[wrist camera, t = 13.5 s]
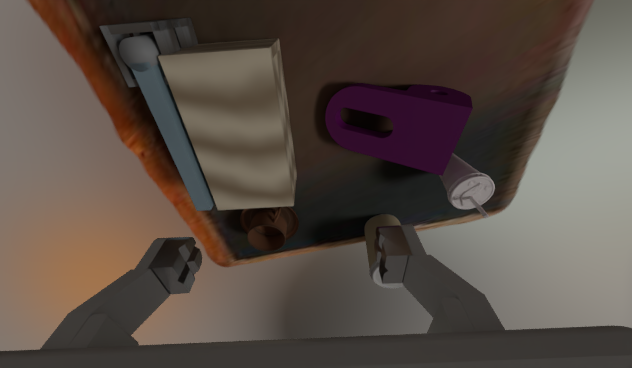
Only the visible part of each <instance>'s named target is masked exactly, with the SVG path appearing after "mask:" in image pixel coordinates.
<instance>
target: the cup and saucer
mask: <svg viewBox="0 0 632 368" xmlns="http://www.w3.org/2000/svg"><path fill="white" fill-rule="evenodd" d="M240 224H241V226H242V228H243V230H244V231H245V232H246V233H247V234H248V235H247V239H248V242H249V243H250V244H251V245H252V246H253V247H254V248H256V249H259V250H262V251H274V250H278V249H280V248H281V247H282V246H283V245H284V244H285V241H286V240H287V239H289V238H291V237H292V236H293V235H294V234H295V233H296V231H297V230H298V226H299V221H298V217H297V215H296V213H295V212H294V210H293V209H292V208H290V207H289V206H285V207H267V208H248V209H244V210H243V211H242V213H241V216H240Z"/></svg>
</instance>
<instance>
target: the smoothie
mask: <svg viewBox="0 0 632 368" xmlns="http://www.w3.org/2000/svg"><path fill="white" fill-rule="evenodd" d="M439 176H440V178H441V180H442V182H443V184H444V186H445V188H446V191H447V193H448V199H449V201H450V202H451V203H452V205H453V206H454V207H456V208H459V209H472V208H475V207H476V208H477V209H478V210H479V212H480V213H481V214H482V215H483V217H484V218H487V217H488V215H487V213H486V212H485V211H484V210H483V209H482V207H481V206H480V205H482V204H483V203H485V202H486V201H487V200H488V199H489V198H490V197H491V196H492V194H493V192H494V189H495V185H494V182H493V181H492V180H491V178H490V177H489V176H488V175H486V174H484V173H480V172H478V171H477V170H476V169H474V168H473V167H471V166H470V165H469V164H467V163H466V162H464V161H463V160H462V159H460V158H459V157H457V156H456V155H455V154H453V153H452V156H451V158H450V160H449V162H448V165H447V167H446V169H445V171H444V174H443V176H441V175H439Z"/></svg>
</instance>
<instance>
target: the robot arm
mask: <svg viewBox="0 0 632 368" xmlns="http://www.w3.org/2000/svg"><path fill="white" fill-rule="evenodd" d="M375 233H376V237H377V238H376V239H375V243H374V249H375V256H376V261H377V262H378V263H379V273H380V277H381V280H382V284H390V283H403V285H404V286H405V287H406V288H407V290H408V291H409V292H410V293H411V294H412V295H413V296H414V297H415V298H416V299H417V301H418V302H419V303H420V304H421V305H422V306H423V307H424V308H425V309H426V310H427V311H428V312H429V314H430V315H431V316H432V317H433V320H432V323H431V325H430V327H429V330H428V332H427V334H405V335H381V336H380V335H379V336H356V337H331V338H309V339H308V338H307V339H282V340H260V341H236V342H211V343H188V344H165V345H164V344H163V345H140V346H139V344H138V342H137V341H136V340H135V339H134V338H133V337H132V336H131V335H132V334H133V332H134V331H135V330H136V329H137V328H138V327H139V326H140V325H141V324H142V323H143V322H144V321H145V320H146V319H147V318H148V317H149V316H150V315H151V314H152V313H153V312H154V311H155V310H156V309H157V308H158V307H159V306H160V305H161V304H162V303H163V302H164V301H165V300H166V299H167V298H168V297H169V296H170V295H169V294H180V293H189V292H190V290H191V287H192V285H193V283H194V281H195V277H194V274H195V273H196V272H197V271H198V270H199V269H200V266H201V263H202V255H201V251H200V249H198V248H197V247H195V244H196V242H195V240H194V238H193V237H179V238H178V237H177V238H157V239H156V240H154V241H153V243H152V244H151V246H150V248H149V249H148V250H147V252H146V253H145V255H144V256H143V258H142V259H141V261H140V262H139V264H138V265H137V266H136V268H135V269H134V270H130V271H129V272H127V273H126V274H124V275H123V276H121V277H120V278H119V279H117V280H116V281H114V282H113V283H111V284H110V285H108V286H107V287H106V288H104V289H103V290H101V291H100V292H99V293H97V294H96V295H94V296H93V297H91V298H90V299H89V300H87V301H86V302H84V303H83V304H81V305H80V306H78V307H77V308H76V309H74V310H73V311H71V312H70V313H69V314H68V315H67V316H66V317H65V318H64V320H63V321H62V322H61V324H60V325H59V326H58V327H57V329H56V330H55V331H54V332H53V334H52V335H51V336H50V338H49V339H48V340H47V341H46V342H45V344H44V345H43V346H42V348H41V349H40V350H21V351H0V368H632V328H629V327H624V326H596V327H595V326H593V327H570V328H547V329H546V328H545V329H523V330H505V329H504V327H503V326H502V324H501V322H500V321H499V319H498V317H497V315H496V314H495V312H494V310H493V309H492V307H491V305H490V303H489V302H488V300H487V298H486V297H485V295H484V294H482V293H481V292H480V291H478V290H477V289H476V288H474V287H473V286H472V285H470V284H469V283H468V282H466V281H465V280H464V279H462V278H461V277H459V276H458V275H457V274H456V273H454V272H453V271H451V270H450V269H449V268H447V267H446V266H445V265H443V264H442V263H441V262H439V261H438V260H437V259H435V258H434V257H433V256H431V255H427V254H426V252H425V250H424V248H423V246H422V244H421V242H420V239H419V237H418V235H417V233H416V231H415V229H414V226H413V225H400V226H399V225H397V226H381V227H377V228H376V232H375Z"/></svg>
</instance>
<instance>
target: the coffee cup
mask: <svg viewBox="0 0 632 368" xmlns="http://www.w3.org/2000/svg"><path fill="white" fill-rule="evenodd" d="M397 225H399V226H400V225H401V224H400V222H399V221H398V219H397V218H396V217H394V216H392V215H389V214H380V215H377V216H374V217H372V218H370V219H369V220H368V221H367V223H366V224H365V228H364V229H365V239H366V245H367V253H368V261H369V267H370V276H371V278H372V279H373V281H374V282H375V283H376V284H377V285H379V286H381V287H385V288H400V287H403V286H404V285H403V283H390V284H382V280H381V277H380V273H379V263H378V262H377V261H376V256H375V249H374V243H375V239H376V238H377V237H376V233H375V232H376V228H377V227H381V226H397Z"/></svg>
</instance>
